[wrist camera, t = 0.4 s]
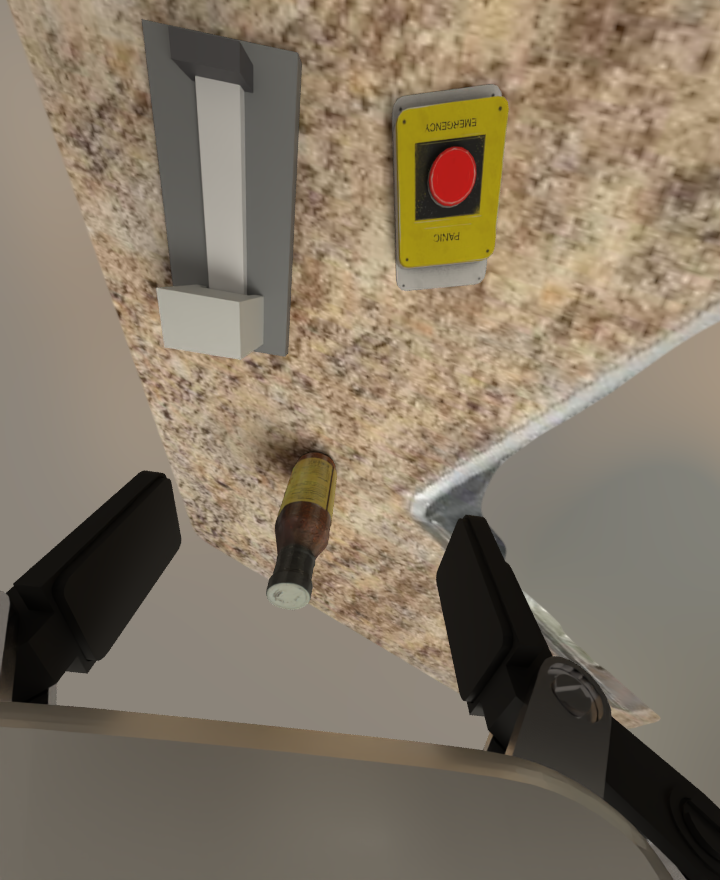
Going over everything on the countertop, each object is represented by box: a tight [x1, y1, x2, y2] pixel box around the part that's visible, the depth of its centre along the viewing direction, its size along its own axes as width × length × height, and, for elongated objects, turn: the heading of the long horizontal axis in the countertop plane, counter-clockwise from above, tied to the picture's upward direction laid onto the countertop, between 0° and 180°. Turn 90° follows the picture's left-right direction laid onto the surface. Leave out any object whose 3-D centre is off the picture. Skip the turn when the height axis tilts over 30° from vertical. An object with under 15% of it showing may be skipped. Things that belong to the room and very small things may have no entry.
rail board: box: [142, 19, 302, 360], centre depth 27 cm, size 24×12×8 cm, turn 171°
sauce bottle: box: [266, 452, 337, 609], centre depth 36 cm, size 6×6×20 cm
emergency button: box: [392, 84, 509, 291], centre depth 28 cm, size 9×4×15 cm
